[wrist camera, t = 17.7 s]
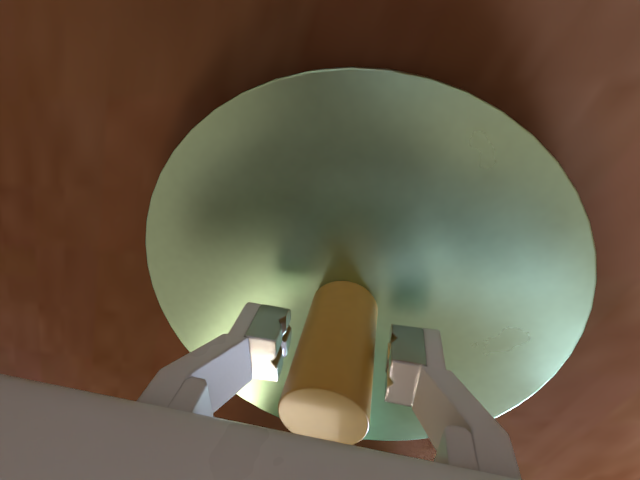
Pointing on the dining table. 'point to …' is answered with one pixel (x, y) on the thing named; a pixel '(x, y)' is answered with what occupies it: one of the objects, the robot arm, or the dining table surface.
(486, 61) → the dining table surface
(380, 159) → the lid
